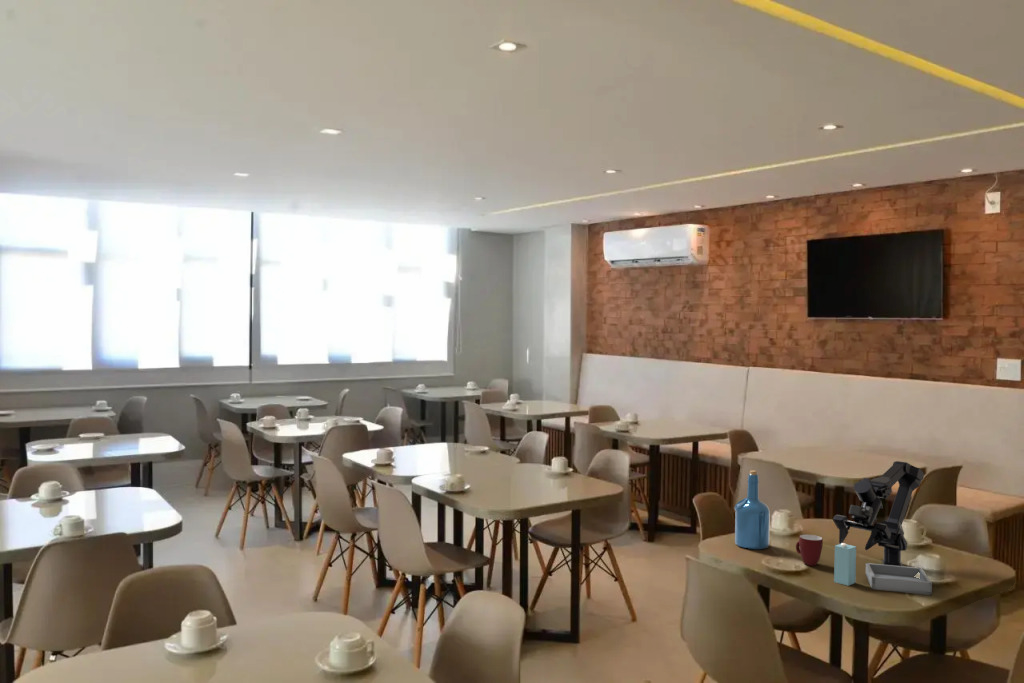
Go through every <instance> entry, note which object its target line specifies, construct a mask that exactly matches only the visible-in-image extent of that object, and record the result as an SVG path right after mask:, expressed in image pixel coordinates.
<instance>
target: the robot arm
mask: <svg viewBox="0 0 1024 683" xmlns="http://www.w3.org/2000/svg"><path fill="white" fill-rule="evenodd" d="M924 478H925V473H924V471H922V469H921V468H920V467H917V466H914V465H912V464H910V463H909V462H906V461H900V460H896V461H894V462H893V463H892V465H891V466H890V467H889V468H888V469H887V470H886V471H885V472H884V473H883V474H882V475H881V476H879V477H873V478H872V479H870V478H866V477H864V478H862V479H861V480H859V481H857V482H856V483H854V485H853V489H854V492H855V493H856V495H857V497H858V499H859V501H860V502H862V503H861V506H859V505H854V504H850V507H849V510H848V514H849V515H851V519H852V520H853V521H852V520H849V519H848V516H846V515H840V514H835V515H834V516H833V519H832V520H833V522H834V525H835V526H836V529H837V530H838V531H839V533H838V534H839V535H838V538H839V539H838V544H841V543H844V541H845V540H846V538H847V536H848V534H849V532H850V531H849V530H850V529H851V528H854V529H859V530H863V531H868V532H870V536H869V538H868V539H867V542H866V544H865V545H864V546H865V547H864V549H865V551H868V550H869V549H871V548H872V547H874V546H875V545H878V547H882V548H883V559H881V563H882V564H883V565H894V566H904V565H903V563H902V557H901V556H902V552H903V551H907V549H908V541H907V540H906V538H905V530H904V529H903V526H902V525H903V523H904V519H905V516H906V513H907V510H908V506H909V504H910V500H911V497H912V495H913V492H914V491H915V490H917V489H918V488H919V487H921V486H920V485H921V484H922V481H923V480H924ZM897 482H898V488H897V491H896V494H895V498H894V501H893V503H892V506H891V510H890V513H889V515H888V518H887V519H886V520H881V521H880V522H877V520H878V518H877V515H878V514H879V511H880V509H883V508H884V507H883V506H884V504H883V502H882V500H881V499H888V498H889V497H890V496H891V494H892V492H893V489H892V488H893V487H894V486H895V484H896V483H897Z"/></svg>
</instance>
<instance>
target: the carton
mask: <svg viewBox="0 0 1024 683" xmlns="http://www.w3.org/2000/svg"><path fill="white" fill-rule="evenodd" d="M856 561H857V546H855V545H851V544H847V543H844V542H843V543H841V544H840V543H838V544H836V545H834V562H833V564H834V569H833V571H834V572H833V574H834V575H833V582H834V583H836V584H840V585H844V586H848V587H849V586H851V585H854V584H856V580H857V579H856V571H857V570H856V567H857V565H856V564H857V562H856Z"/></svg>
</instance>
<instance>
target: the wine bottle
mask: <svg viewBox="0 0 1024 683" xmlns="http://www.w3.org/2000/svg"><path fill="white" fill-rule="evenodd" d="M759 479H760V478H759V474H758V472H757V470H750V471H749V474H748V477H747V493H746V494H747V495H746V497H745V498H743V499H741V500H739V501H738V502H737V503H736V504H735V506H734V510H735V514H734V515H735V517H734V518H735V521H734V524H735V526H734V543H735V545H736V546H738V547H740V548H743V549H746V548H748V549H749V550H764V549H767V548H769V545H770V523H771V522H770V519H771V515H770V514H771V511H770V508H769V506H768V505H767V504H766V503H764V502H763V501H761V500H760V498H759V495H760V494H759V484H760V482H759ZM748 549H747V550H748Z"/></svg>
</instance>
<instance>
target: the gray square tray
mask: <svg viewBox="0 0 1024 683" xmlns="http://www.w3.org/2000/svg"><path fill="white" fill-rule="evenodd" d="M921 568H922V567H915V566H904V565H903V566H894V565H883V563H882V564H881V563H871V562H866V563H865V572H864V574H865V576H866V578H867V581H868V583H869V585H870V588H871V589H872V590H878V591H888V592H897V593H907V594H908V593H910V594H917V595H926V596H932V595H933V582H932V580H930V578H929V577H928V575H927V574H926V572H925V571H924V569H923V568H922V569H921ZM918 572H919V573H920V579H919V578H916V577H914V576H915V575H916V574H917V573H918Z"/></svg>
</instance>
